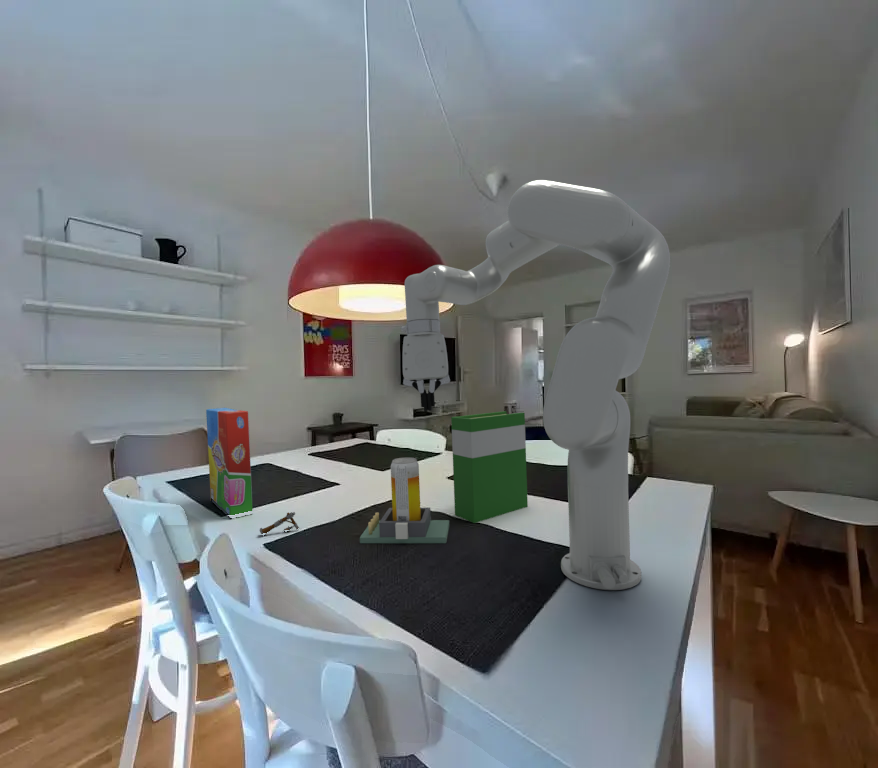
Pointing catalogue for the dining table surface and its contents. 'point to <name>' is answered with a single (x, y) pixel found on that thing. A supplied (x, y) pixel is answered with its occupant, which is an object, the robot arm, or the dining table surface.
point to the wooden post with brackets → (279, 522)
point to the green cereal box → (489, 465)
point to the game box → (229, 459)
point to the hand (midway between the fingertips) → (428, 410)
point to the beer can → (405, 489)
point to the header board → (405, 529)
